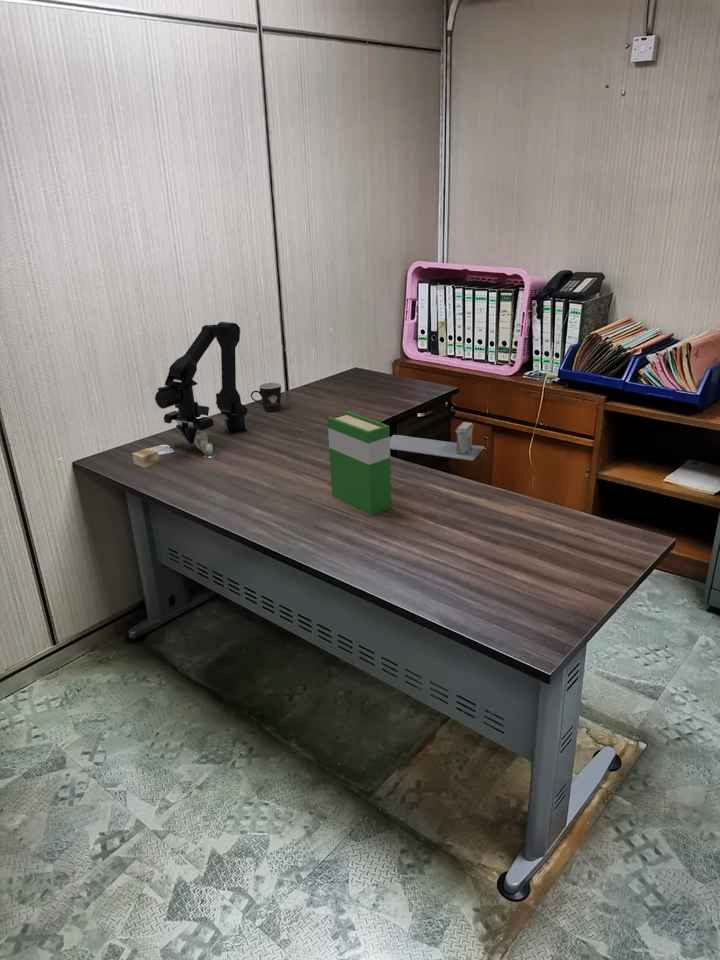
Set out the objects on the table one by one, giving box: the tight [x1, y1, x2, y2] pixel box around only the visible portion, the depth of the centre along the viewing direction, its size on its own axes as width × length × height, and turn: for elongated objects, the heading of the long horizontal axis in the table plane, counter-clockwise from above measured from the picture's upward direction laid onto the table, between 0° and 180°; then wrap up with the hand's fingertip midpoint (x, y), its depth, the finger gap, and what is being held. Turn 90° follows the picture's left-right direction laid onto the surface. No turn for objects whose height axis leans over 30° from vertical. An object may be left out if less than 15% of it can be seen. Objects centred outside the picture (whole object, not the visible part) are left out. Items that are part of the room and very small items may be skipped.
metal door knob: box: [202, 442, 217, 459], centre depth 235 cm, size 4×4×4 cm
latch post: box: [198, 432, 209, 442], centre depth 245 cm, size 2×2×4 cm
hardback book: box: [326, 411, 392, 516], centre depth 194 cm, size 18×7×24 cm, turn 39°
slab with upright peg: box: [390, 421, 485, 462], centre depth 233 cm, size 12×33×10 cm, turn 63°
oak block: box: [131, 447, 160, 469], centre depth 232 cm, size 6×6×4 cm
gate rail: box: [194, 434, 210, 455], centre depth 240 cm, size 11×2×4 cm, turn 31°
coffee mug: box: [250, 382, 282, 413], centre depth 277 cm, size 12×9×10 cm
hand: (191, 443), depth 241 cm, fingers closed
